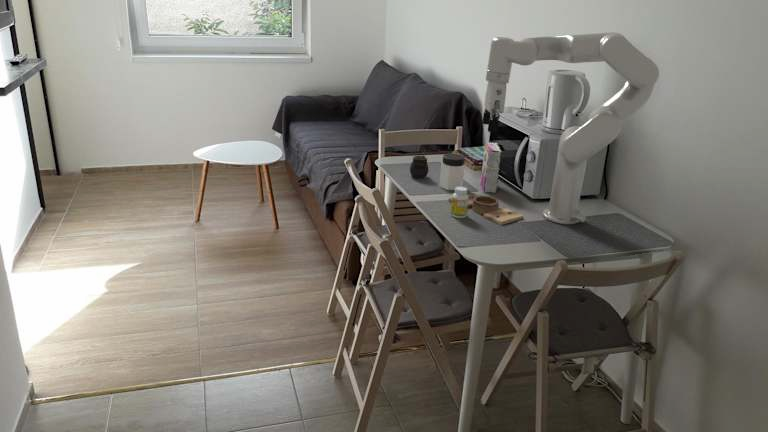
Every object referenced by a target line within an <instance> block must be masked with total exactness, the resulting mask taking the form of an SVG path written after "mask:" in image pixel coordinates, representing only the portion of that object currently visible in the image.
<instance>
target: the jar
mask: <svg viewBox="0 0 768 432" xmlns="http://www.w3.org/2000/svg"><path fill="white" fill-rule="evenodd" d="M465 161H466V157H465V156H464V155H462V154H459V153H451V152H450V153H445V154H443V155H442V162H441V165H440V173H439V184H438V187H439V188H441V189H444V190H446V191H455V188H456V187H464V186H463V183H464V175H465V167H466V163H465Z"/></svg>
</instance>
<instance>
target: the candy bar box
mask: <svg viewBox="0 0 768 432" xmlns="http://www.w3.org/2000/svg"><path fill="white" fill-rule="evenodd" d="M501 157H502V150H501V147H500V145H499V144H498V143H497V142H489V141H488V142H484V150H483V158H482V159H483V160H482V170H481V177H480V185H481V187H482V189H483V192H484V193H487V194H489V193H491V194H497V189H498V182H499V177H500V175H499V174H500V166H501V159H502V158H501Z"/></svg>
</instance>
